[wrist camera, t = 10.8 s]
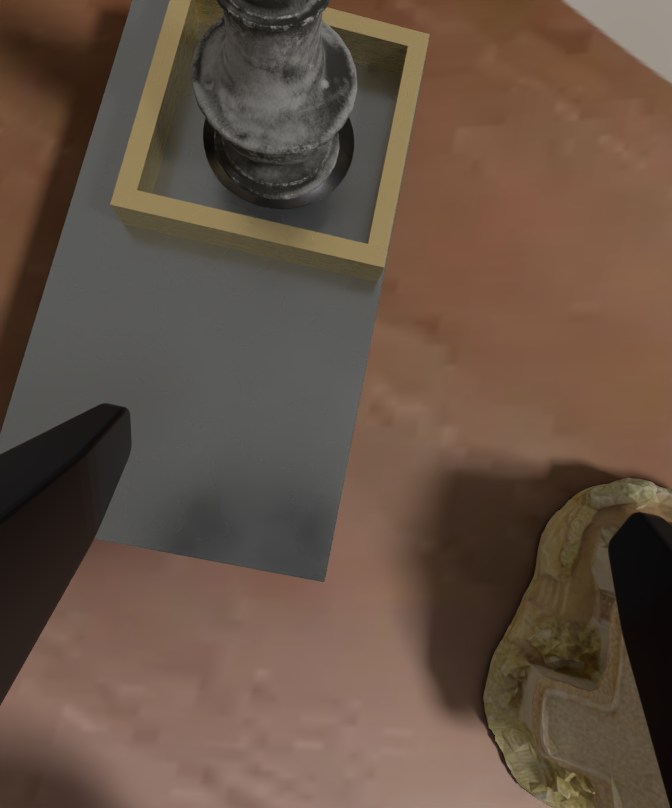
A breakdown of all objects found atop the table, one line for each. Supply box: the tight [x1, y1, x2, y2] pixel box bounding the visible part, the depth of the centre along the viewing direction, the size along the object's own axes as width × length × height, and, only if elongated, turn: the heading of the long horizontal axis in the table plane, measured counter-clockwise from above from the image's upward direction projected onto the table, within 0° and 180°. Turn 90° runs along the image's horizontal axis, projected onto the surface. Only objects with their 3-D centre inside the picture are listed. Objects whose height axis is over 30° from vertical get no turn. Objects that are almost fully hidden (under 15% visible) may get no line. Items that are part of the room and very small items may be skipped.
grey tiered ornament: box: [191, 0, 357, 199], centre depth 16 cm, size 6×6×12 cm
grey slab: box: [0, 0, 430, 582], centre depth 21 cm, size 23×13×4 cm, turn 169°
